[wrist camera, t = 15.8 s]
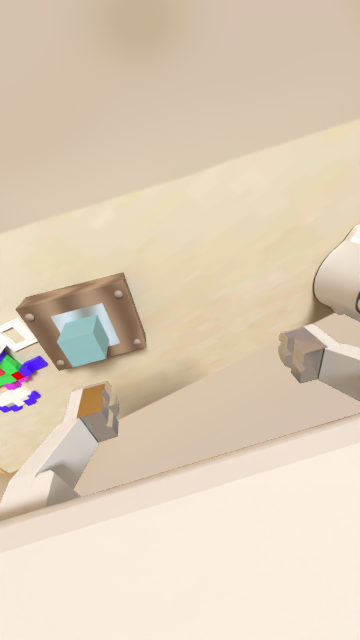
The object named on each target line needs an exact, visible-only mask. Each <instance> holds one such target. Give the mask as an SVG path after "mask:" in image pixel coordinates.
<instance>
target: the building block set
mask: <svg viewBox="0 0 360 640" xmlns="http://www.w3.org/2000/svg"><path fill="white" fill-rule="evenodd" d="M11 327H13V328H14V329H15V330H16V331H17V332H18V333H19V334H20V335H21V336H23V337H24V338H25V339H26V340H25V341H23V342H21V343H19V344H15V343H14V342H13V341H12V340H11V339H10V338H9V337H8V336H7V335H6V334H5V333H3V331H5V330H7V329H9V328H11ZM35 342H37V339H36V338H35V336H34V335H33V333H32V332H31V331H30V329H29V328H28V326H27V325H26V324H25V322H24V321H23V320H22V319H21V318H20V317H18V318H16V319H14V320H12V321H10V322H8V323H5V324H3V325H1V326H0V386H2V385H3V386H5V387H6V388H7V389H9V391H7V392H4V393H2V394H0V410H1V411H3V412H4V413H5V412H7V411H10V410H13V411H14V412H15V411H18V410H20V409H22V407H23V406H21V405H23V404H27V405H28V406H29V405H32V404H34V403H36V401H37V400H35V399H37V398H40V396H41V395H40V394H39V393H38V392H36V391H33V392H31V391H30V390H28V389H27V388H26V387H25V386H24V385H22V384H21V383H22V382H24V381H26V380H28V379H29V377H30V375H31V374H33V372H34V371H35V370H38V369H40V368H42V367H44V366H47V364H48V363H47V362H46V361H45V360H44V359H43V358H41V357H40V356H38V357H36V358H34V359H32V360H29V361H27V362H25V363H24V364H23V365H21V364H20V363H19V362H18V361H17V360H16V359H15V360H13V359H12V358H11V357H10V356H9V355H6V354H7V353H6V352H5V351H4V348H5V347H6V346H8V347H9V348H10V349H11V350H13V351H14V352H15V351H17V350H19V349H22V348H24V347H26V346H28V345H30V344H33V343H35Z"/></svg>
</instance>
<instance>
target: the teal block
mask: <svg viewBox="0 0 360 640" xmlns="http://www.w3.org/2000/svg"><path fill="white" fill-rule="evenodd" d="M108 342H109V338H108V336H107V334H106V332H105V330H104V328H103V326H102V324H101V321H100V319H99V317H98V315H93V316H90V317H86V318H82V319H78V320H74V321H71V322H67V323H65V325H64V328H63V330H62V332H61V334H60V336H59V338H58V341H57V343H58V345H59V346H60V348H61V349H62V351H63V352H64V354H65V356H66V357H67V359H68V360H69V362H70V363H71V365H72V366H73V367H77V366H81V365H84V364H88V363H92V362H95V361H99V360H103V359H106V356H107V349H108Z"/></svg>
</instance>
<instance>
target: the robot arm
mask: <svg viewBox="0 0 360 640" xmlns="http://www.w3.org/2000/svg"><path fill="white" fill-rule="evenodd" d="M314 291H315V295H316V297H317V299H318V300H319V301H320V302H321V303H323V304H325V305H327V306H330V307H331V308H332V310H333V311H334V312H335V313H337V314H339V315H342V314H345V315H347V316H349V317H351V318H353V319H355V320H357V321H359V322H360V224H358V225H356V226H355V227H354V228H353V229H352V230H351V232H350V233H349V234H348V236H347V237H346V239H345V240H344V241H343V242H342V243H341V244H340V245H339V246H338V247H337V248H336V249H334V250H333V251H332V252H331V253H330V254H329V255H328V257H327V258H326V259H325V260H324V262H323V263H322V265H321V267H320V268H319V270H318V273H317V275H316V278H315V283H314ZM279 340H280V341H281V344H280V346H279V347H278V352H279V356H280V359H281V360H282V362H283V363H284V365H285V366H287V367H289V368H291V373H292V374H293V376H294V377H295V378H296V379H297V380H298V381H299V383H304V382H308V381H312V380H315V379H318V380H320V381H322V382H324V383H326V384H328V385H329V386H332V387H333V388H335V389H338V390H339V391H341V392H343V393H345V394H347V395H349V396H351V397H352V398H354V399H356V400H358V401H360V348H358V347H354V346H351V345H347V344H344V343H343V344H339V343H338V342H336V341H335V340H334V339H332V338H331V337H330V336H329V335H327V334H326V333H325V332H323V331H322V330H321V329H320V328H318V327H317V326H316V325H314V324H309V325H306V326H302V327H299V328H296V329H292V330H289V331H285V332H282V333H280V335H279ZM118 414H119V403H118V399H117V396H116V394H115V393H114V392H112V391H111V385H110V383H109V382H108V381H106V382H102V383H98V384H94V385H90V386H86V387H83V388H79V389H75V390H73V391H72V393H71V396H70V399H69V403H68V406H67V410H66V413H65V417H64V420H63V423H60V424H59V425H58V426H57V427H56V428H55V429H54V430H53V432H52V433H51V434H50V435H49V436H48V437H47V439H46V440H45V441H44V442H43V443H42V444H41V445H40V447H39V448H38V449H37V450H36V451H35V452H34V453H33V455H32V456H31V457H30V458H29V459H28V460H27V462H26V463H25V464H24V465H23V466H22V467H21V468H20V470H19V471H18V472H17V473H16V474H15V475H14V477H13V478H12V479H11V480H10V481H9V484H8V486H7V489H6V492H5V494H4V496H3V499H2V501H1V504H0V640H360V413H358V414H355V415H352V416H349V417H345V418H342V419H338V420H336V421H332V422H328V423H325V424H322V425H318V426H315V427H312V428H309V429H305V430H302V431H298V432H295V433H292V434H289V435H285V436H282V437H279V438H276V439H272V440H269V441H266V442H262V443H259V444H255V445H252V446H249V447H246V448H242V449H239V450H235V451H232V452H229V453H225V454H222V455H219V456H216V457H212V458H209V459H206V460H202V461H199V462H196V463H192V464H189V465H186V466H183V467H180V468H176V469H172V470H169V471H166V472H162V473H159V474H156V475H153V476H149V477H146V478H143V479H139V480H136V481H133V482H130V483H126V484H123V485H119V486H116V487H113V488H109V489H106V490H103V491H99V492H96V493H93V494H89V495H86V496H83V497H81V496H80V495H79V494H78V493H77V492H76V491H74V490H73V489H74V487H75V485H76V484H77V482H78V480H79V478H80V476H81V475H82V473H83V471H84V469H85V467H86V466H87V464H88V462H89V460H90V458H91V457H92V455H93V453H94V451H95V449H96V447H97V446H98V443H99V442H102V441H105V440H108V439H111V438H114V437H117V436H118V421H117V419H116V417H117V416H118Z"/></svg>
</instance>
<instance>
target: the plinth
mask: <svg viewBox="0 0 360 640" xmlns="http://www.w3.org/2000/svg"><path fill="white" fill-rule="evenodd" d="M16 311H17V312H18V314H19V315H20V316H21V318H22V319H23V321H24V322H25V324H26V325H27V326H28V328H29V329H30V331H31V332H32V333H33V335H34V336H35V338H36V339H37V341H38V342H39V343H40V345H41V346H42V348H43V349H44V350H45V352H46V353H47V355H48V356H49V357H50V359H51V360H52V362H53V363H54V365H55V366H56V367H57V369H58V370H59V371H60V370H64V369H67V368H71V367H73V366H72V365H71V363H70V362H69V360H68V359H67V357H66V356H65V354H64V352H63V351H62V349H61V348H60V346H59V345H58V343H57V341H58V338H59V336H60V334H61V332H62V330H63V328H64V325H65V323H67V322H71V321H74V320H78V319H82V318H86V317H90V316H93V315H98V317H99V319H100V321H101V324H102V326H103V328H104V330H105V332H106V334H107V336H108V338H109V342H108V349H107V356H106V358H108V357H111V356H115V355H119V354H122V353H126V352H130V351H133V350H137V349H141V348H144V347H146V336H145V332H144V329H143V326H142V324H141V321H140V318H139V315H138V312H137V309H136V307H135V304H134V301H133V298H132V295H131V293H130V290H129V287H128V284H127V281H126V279H125V276H124V273H119V274H115V275H111V276H108V277H104V278H100V279H96V280H92V281H88V282H84V283H80V284H76V285H72V286H69V287H65V288H61V289H57V290H53V291H49V292H45V293H41V294H37V295H33V296H30V297H26V298H25V299H24V300H23V301H22V303H21V304H20V305H19V306H18V307H17V308H16Z"/></svg>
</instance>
